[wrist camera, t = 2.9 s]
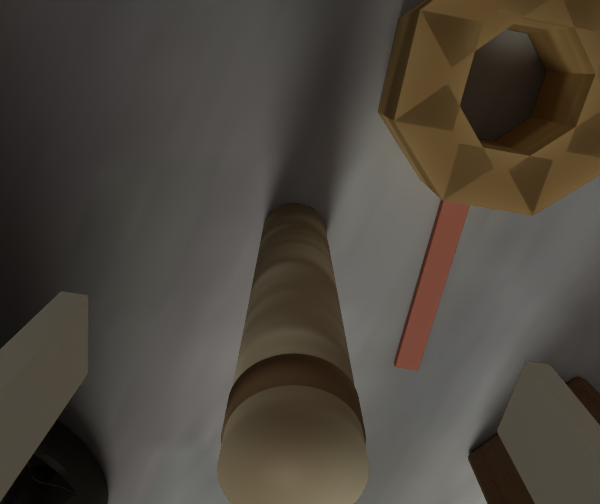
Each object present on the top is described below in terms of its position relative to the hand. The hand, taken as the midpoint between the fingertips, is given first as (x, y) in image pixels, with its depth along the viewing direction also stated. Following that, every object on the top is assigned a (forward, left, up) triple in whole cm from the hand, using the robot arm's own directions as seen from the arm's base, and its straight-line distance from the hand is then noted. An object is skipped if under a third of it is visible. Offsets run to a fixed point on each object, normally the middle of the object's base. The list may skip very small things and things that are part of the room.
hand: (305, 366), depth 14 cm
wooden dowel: (0, 0, -12) cm, 12 cm away
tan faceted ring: (+8, +9, -12) cm, 17 cm away
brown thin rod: (+8, -2, -12) cm, 14 cm away
